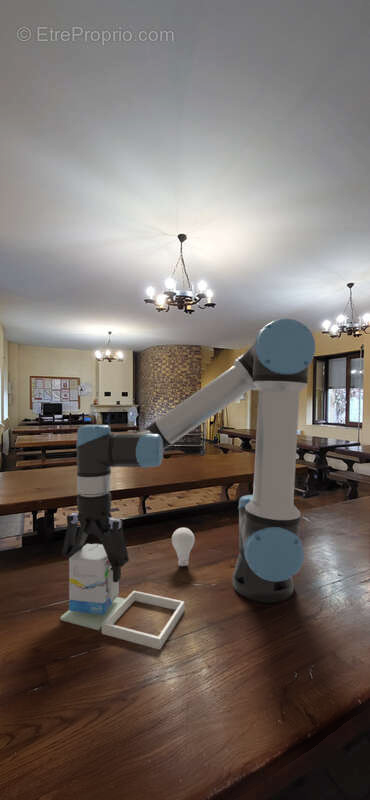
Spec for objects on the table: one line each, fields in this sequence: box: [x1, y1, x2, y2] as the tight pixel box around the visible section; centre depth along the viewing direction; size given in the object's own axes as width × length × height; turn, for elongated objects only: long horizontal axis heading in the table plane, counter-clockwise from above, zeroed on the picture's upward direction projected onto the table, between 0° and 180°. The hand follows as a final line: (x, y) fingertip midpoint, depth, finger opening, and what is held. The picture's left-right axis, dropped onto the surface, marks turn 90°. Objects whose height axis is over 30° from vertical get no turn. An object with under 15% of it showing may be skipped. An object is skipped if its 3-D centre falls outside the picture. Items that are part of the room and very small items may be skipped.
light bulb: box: [171, 527, 196, 567], centre depth 98 cm, size 7×7×11 cm
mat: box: [59, 596, 126, 631], centre depth 78 cm, size 10×11×1 cm
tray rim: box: [101, 590, 186, 650], centre depth 74 cm, size 13×13×2 cm
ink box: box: [68, 543, 120, 615], centre depth 78 cm, size 8×8×12 cm
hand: (94, 590), depth 78 cm, fingers open, 9 cm apart
